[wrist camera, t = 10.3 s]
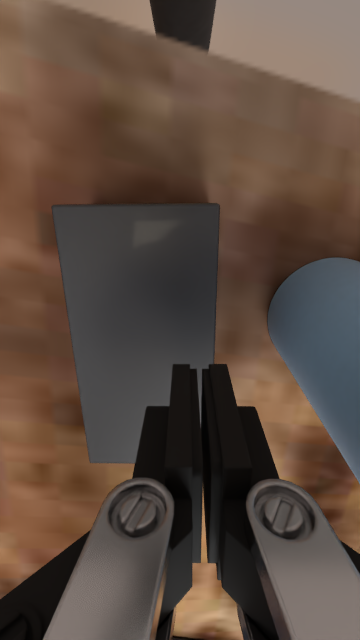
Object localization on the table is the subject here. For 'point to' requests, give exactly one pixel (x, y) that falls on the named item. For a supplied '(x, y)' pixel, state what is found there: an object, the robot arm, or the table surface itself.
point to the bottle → (324, 344)
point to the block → (136, 309)
